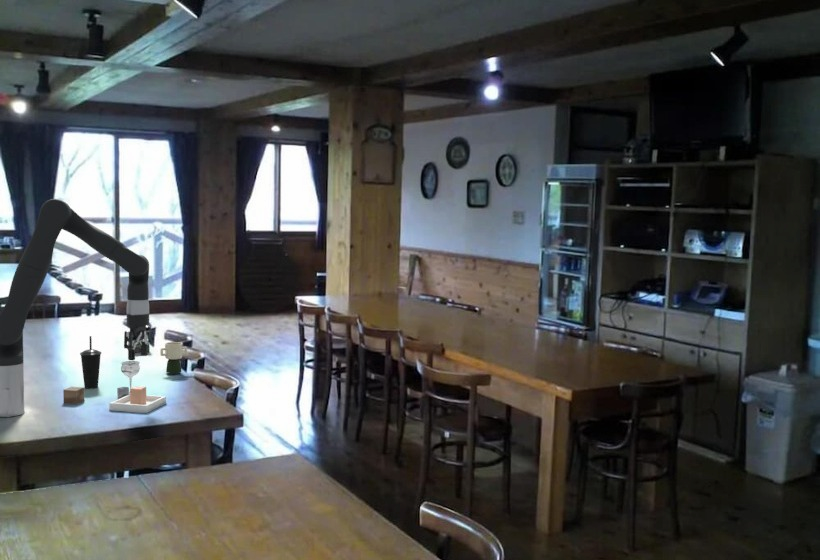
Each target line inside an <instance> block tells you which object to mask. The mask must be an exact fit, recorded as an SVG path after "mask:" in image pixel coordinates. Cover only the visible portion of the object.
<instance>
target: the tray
mask: <svg viewBox="0 0 820 560" xmlns="http://www.w3.org/2000/svg"><path fill="white" fill-rule="evenodd" d="M165 404H167V396H166V395H165V396H164V395H152V394H151V395H150V394H146V404H144V405H139V404H130V394H129V395H127V396H125V397H122V398H120V399H116V400H114V401H111V402H109V404H108V405H109V406H108V407H109V411H116V412H128V413H143V414H148V413H150V412H151V411H154V410H156V409H157V408H160V407H162V406H163V405H165Z"/></svg>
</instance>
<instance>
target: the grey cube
mask: <svg viewBox="0 0 820 560" xmlns="http://www.w3.org/2000/svg"><path fill="white" fill-rule="evenodd" d="M129 392H130V386H119V387H117V392H116V393H117V396H116V398H117V399H116V400H118V399H120V398H122V397H125V396H127V395H129Z"/></svg>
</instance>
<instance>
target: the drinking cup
mask: <svg viewBox="0 0 820 560" xmlns="http://www.w3.org/2000/svg"><path fill="white" fill-rule="evenodd" d="M92 341H93V339H92V336H90V335H89V349H86V350H83V351H81V352H80V353H79V355H80V359H81V367H82V377H83V385H84V386H83V387H84V389H88V390H91V388H93V389H97V388H98V387H99V381H100V380H99V378H100V377H99V375H100V365H101V356H102V355H101V354H102V351H101V350H98V349H94V348H92Z"/></svg>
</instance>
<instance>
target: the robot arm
mask: <svg viewBox="0 0 820 560" xmlns="http://www.w3.org/2000/svg"><path fill="white" fill-rule="evenodd" d="M62 230H63V231H65V232H68V233H70V234H71V235H73V236H75V237H77V238H78V239H79V240H81V241H82V242H84V243H85V244H86V245H87V246H89V247H90V248H92V249H93V250H95V251H96V252H98V253H99V254H100V255H101V256H103V257H105V258H106V259H108V260H110V261H112V262H113V263H115V264H116V265H118V266H119V267H120V268H121V269H123V270H124V271H125V272H127V273H128V285H127V290H126V291H127V296H126V298H127V300H126V326H127V327H129V330H125V331H124V336H123V340H124V341H123V348H124V349H125V350H126V349H127V354H128V355H127V358H128V359H127V360H128V361H136V353H135V350H134V349H135V347H136V344H138V342H139V341H140V343H141V352H140V356H141V357H146V356H148V352H147V345H148V344H149V345H150V343H152V327H151V326H150V303H149V298H150V297H149V277H150V262H149V259H148V258H147V257H146V256H144V255H142V254H137V253H136V252H134V251H133V250H131V249H129V248H128V247H127V246H126V245H125V244H124V243H122V242H121V241H120V240H118V239H116V238H115V237H114V236H112V235H110V234H109V233H107V232H105V231H104V230H102V229H100V228H98V227H96V226H95V225H93V224H91V223H90V222H88V221H86V220H85V219H84V218H83V217H82V216H80V215H79V214H78V213H77V212H76V211H75V210H74V209H72V208H71V207H70V206H69V204H68V203H67V202H66V201H64V200H62V199H59V198H51V199H49V200H46V201H45V202H44V203H43V204H42V205H41V207H40V210H39V213H38V217H37V221H36V224H35V227H34V231H33V233H32V235H31V238H30V240H29V242H28V243H27V245H26V248H25V249H24V251H23V253H22V254H21V255H22V256H21V258H20V259H19V262H18V265H17V266H16V270H15V271H14V272H15V273H14V275H13V277H12V281H11V284H10V288H9V291H8V297H7V300H6V303H5V305H4V307H3V308H2V311H1V312H0V418H10V417H11V418H12V417H15V416H17V417H18V416H19V415H23V414H25V377H24V376H25V375H24V373H25V371H24V370H25V369H24V367H25V366H24V363H25V362H24V328H25V324H26V321H27V318H28V314H29V311H30V310H31V307H32V305H33V303H34V301H35V299H36V298H37V296H38V295H39V292H40V290H41V288H42V286H43V284H44V281H45V279H46V277H47V275H48V272H49V269H50V266H51V262H52V259H53V253H54V250H55V246H56V245H55V244H56V242H57V239H58V237H59V236H60V233H61V231H62ZM148 325H149V326H148ZM147 336H148V337H147ZM132 344H133V346H132Z"/></svg>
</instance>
